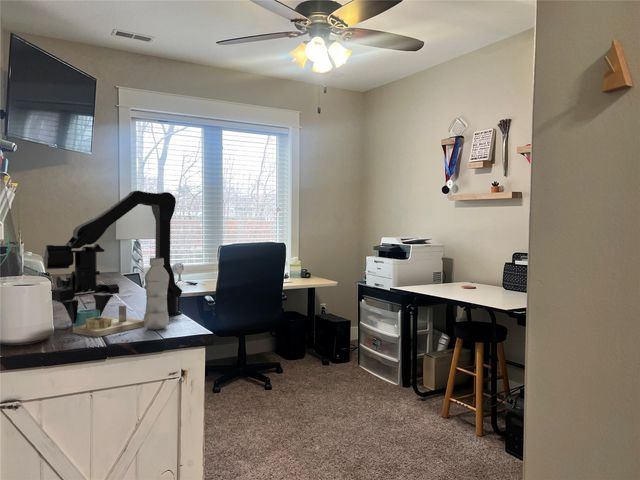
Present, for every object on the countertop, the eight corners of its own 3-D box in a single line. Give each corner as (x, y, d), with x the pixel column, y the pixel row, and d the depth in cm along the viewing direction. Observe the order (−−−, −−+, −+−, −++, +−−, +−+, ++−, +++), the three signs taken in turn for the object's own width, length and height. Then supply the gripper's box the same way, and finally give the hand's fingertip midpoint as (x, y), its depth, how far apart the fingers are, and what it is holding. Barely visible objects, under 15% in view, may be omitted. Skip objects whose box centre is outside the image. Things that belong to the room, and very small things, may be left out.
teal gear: (89, 320, 138) (89, 307, 138) (105, 323, 134) (105, 310, 134) (66, 325, 131) (66, 311, 131) (82, 328, 128) (82, 314, 128)
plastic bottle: (143, 327, 130) (143, 257, 129) (168, 325, 132) (168, 257, 132) (144, 332, 124) (144, 259, 123) (170, 330, 126) (170, 259, 126)
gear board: (123, 321, 137) (123, 302, 137) (146, 325, 132) (146, 305, 132) (72, 332, 123) (72, 310, 123) (96, 337, 118) (96, 314, 118)
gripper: (96, 264, 144) (96, 313, 145) (36, 268, 128) (37, 323, 128) (120, 266, 139) (120, 316, 140) (61, 271, 123) (61, 328, 123)
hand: (86, 321), depth 133 cm, fingers closed on teal gear, 7 cm apart
